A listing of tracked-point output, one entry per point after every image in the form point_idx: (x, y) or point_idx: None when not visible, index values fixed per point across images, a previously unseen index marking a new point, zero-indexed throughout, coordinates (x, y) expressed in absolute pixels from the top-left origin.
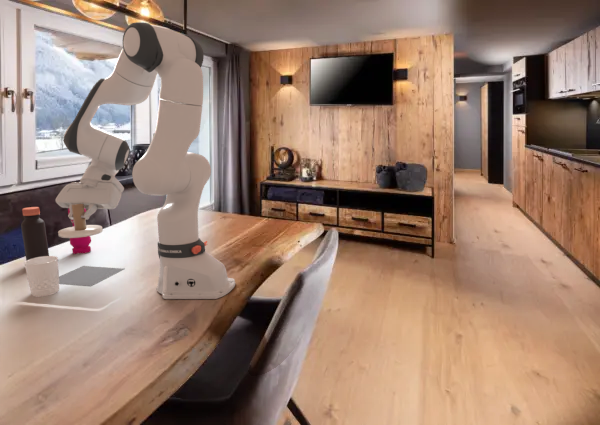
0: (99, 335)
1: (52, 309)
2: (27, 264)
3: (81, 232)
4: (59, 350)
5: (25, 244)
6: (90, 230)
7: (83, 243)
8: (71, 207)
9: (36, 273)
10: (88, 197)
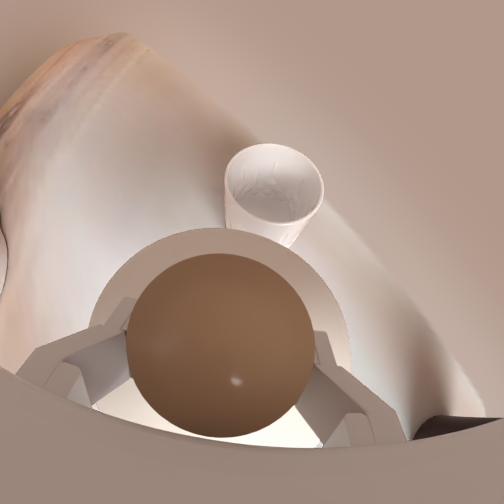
0: (78, 102)
1: (184, 157)
2: (287, 146)
3: (159, 264)
4: (116, 76)
5: (487, 418)
6: None
7: None
8: (359, 406)
9: (258, 163)
10: (55, 500)
